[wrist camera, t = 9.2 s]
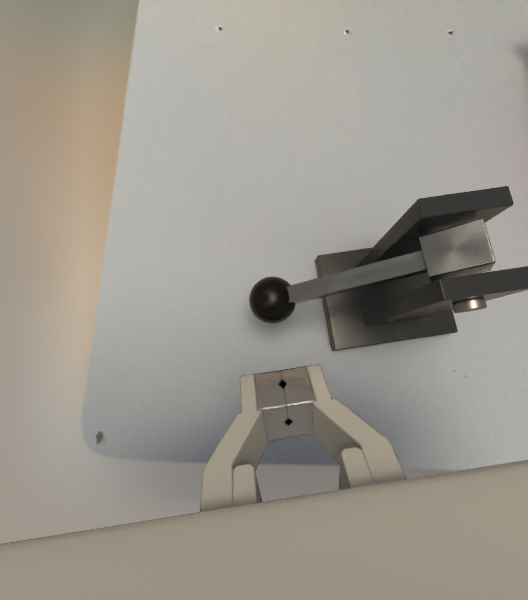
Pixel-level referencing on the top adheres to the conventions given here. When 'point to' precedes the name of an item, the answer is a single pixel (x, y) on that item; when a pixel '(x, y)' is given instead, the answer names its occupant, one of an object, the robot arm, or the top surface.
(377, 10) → the top surface
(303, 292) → the lever
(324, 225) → the top surface
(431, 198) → the bracket
